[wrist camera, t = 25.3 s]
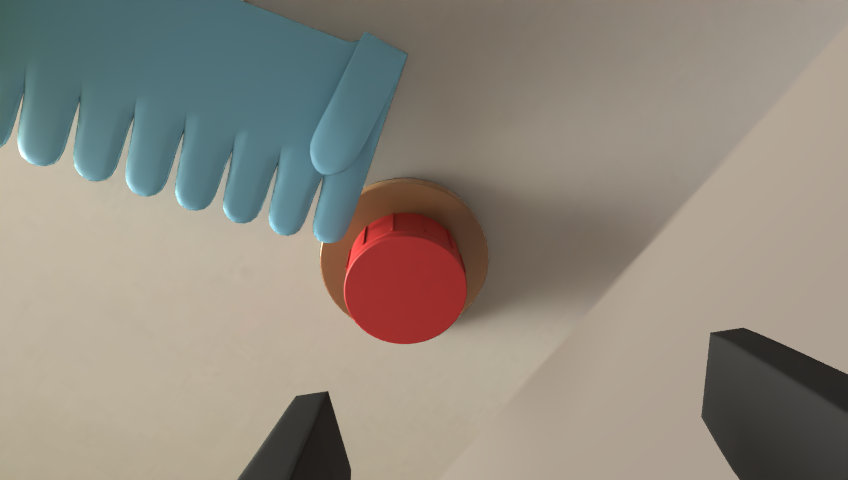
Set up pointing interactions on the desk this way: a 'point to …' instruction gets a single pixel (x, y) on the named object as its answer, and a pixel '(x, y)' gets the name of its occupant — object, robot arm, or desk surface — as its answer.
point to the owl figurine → (200, 101)
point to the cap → (405, 279)
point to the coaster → (416, 200)
